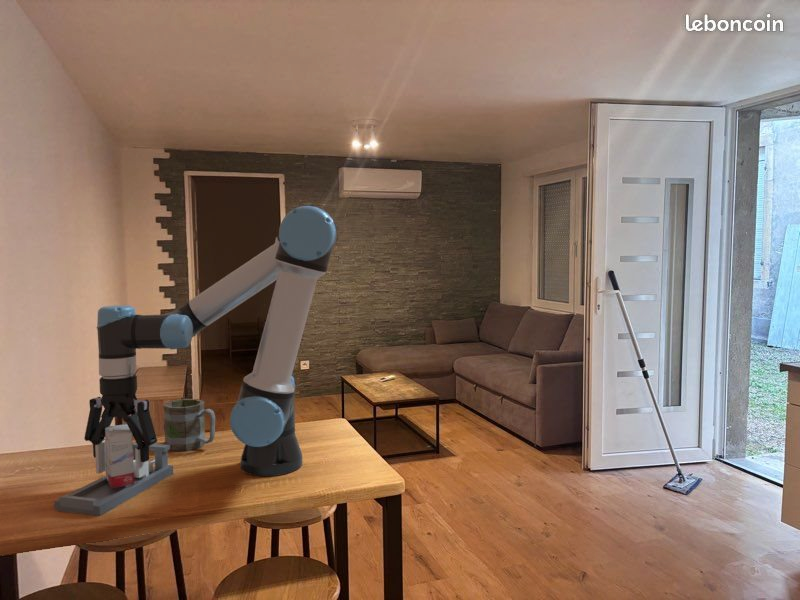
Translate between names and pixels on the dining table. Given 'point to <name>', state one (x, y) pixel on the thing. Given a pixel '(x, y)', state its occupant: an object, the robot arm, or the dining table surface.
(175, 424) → the mug
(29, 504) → the dining table surface
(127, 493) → the lane
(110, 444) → the ink box
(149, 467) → the pusher
